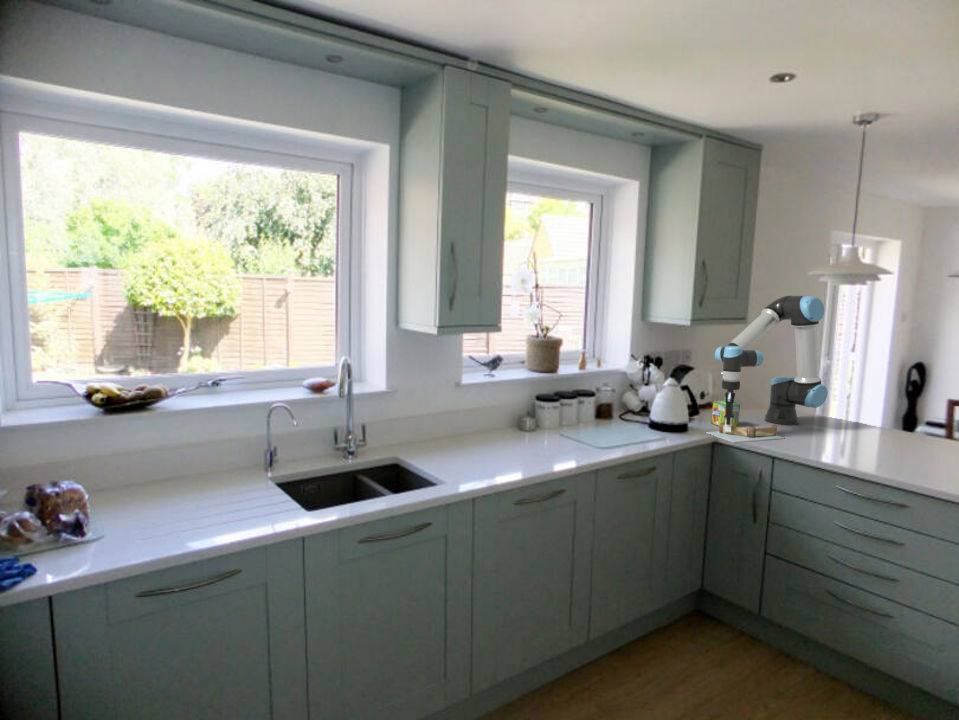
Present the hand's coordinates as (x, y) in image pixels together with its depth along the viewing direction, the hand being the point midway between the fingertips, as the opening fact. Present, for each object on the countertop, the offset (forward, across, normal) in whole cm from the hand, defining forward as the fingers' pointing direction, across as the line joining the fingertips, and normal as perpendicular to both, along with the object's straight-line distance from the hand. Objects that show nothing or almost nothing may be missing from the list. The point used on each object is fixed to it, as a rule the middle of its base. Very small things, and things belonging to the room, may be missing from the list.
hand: (727, 431), depth 268 cm
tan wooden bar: (+1, -1, +2) cm, 3 cm away
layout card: (+2, -3, +7) cm, 8 cm away
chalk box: (+2, -21, -3) cm, 22 cm away
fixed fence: (+2, -5, +14) cm, 15 cm away
